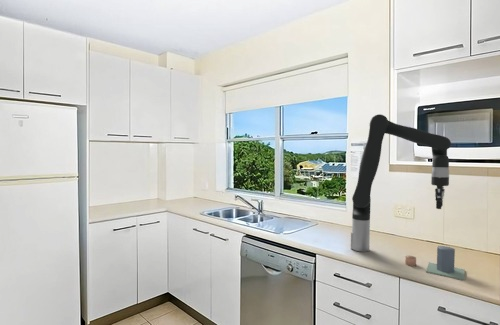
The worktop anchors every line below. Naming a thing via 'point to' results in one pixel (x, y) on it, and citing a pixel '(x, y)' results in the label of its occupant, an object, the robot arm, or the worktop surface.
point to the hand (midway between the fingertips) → (439, 207)
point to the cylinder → (410, 260)
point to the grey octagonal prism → (445, 259)
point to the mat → (457, 272)
